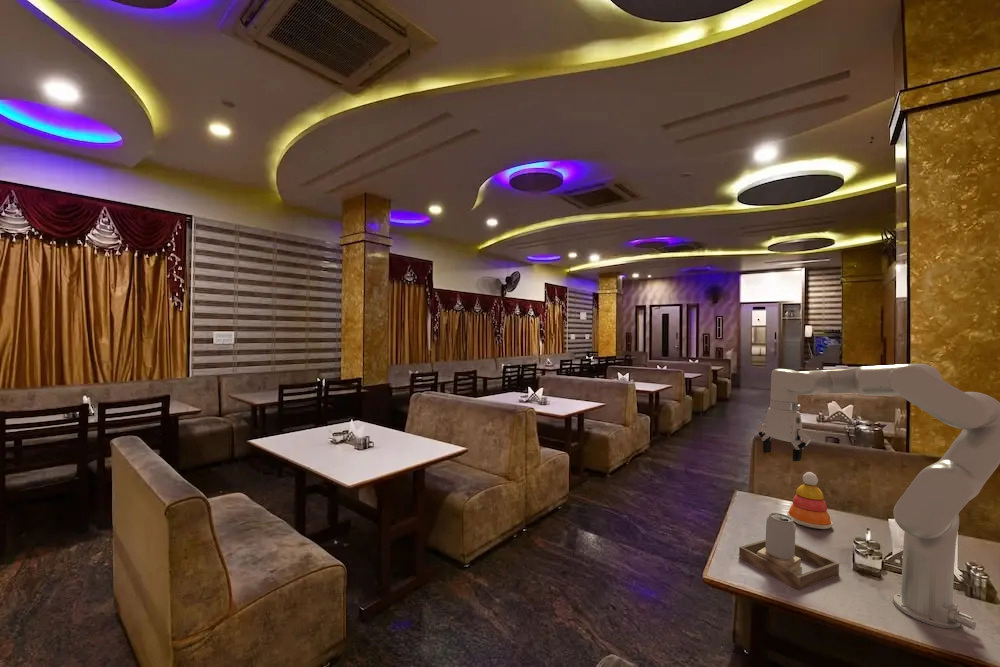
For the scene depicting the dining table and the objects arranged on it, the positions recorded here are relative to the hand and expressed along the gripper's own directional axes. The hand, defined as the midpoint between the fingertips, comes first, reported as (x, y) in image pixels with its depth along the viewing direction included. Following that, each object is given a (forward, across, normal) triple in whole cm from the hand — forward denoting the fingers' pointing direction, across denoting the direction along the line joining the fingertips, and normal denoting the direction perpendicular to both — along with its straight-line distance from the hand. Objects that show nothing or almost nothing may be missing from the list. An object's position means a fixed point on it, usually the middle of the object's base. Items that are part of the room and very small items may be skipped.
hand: (781, 456), depth 142 cm
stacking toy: (+32, +8, -32) cm, 46 cm away
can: (+27, -8, +12) cm, 31 cm away
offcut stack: (+31, -8, +12) cm, 35 cm away
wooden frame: (+31, -8, +8) cm, 33 cm away
